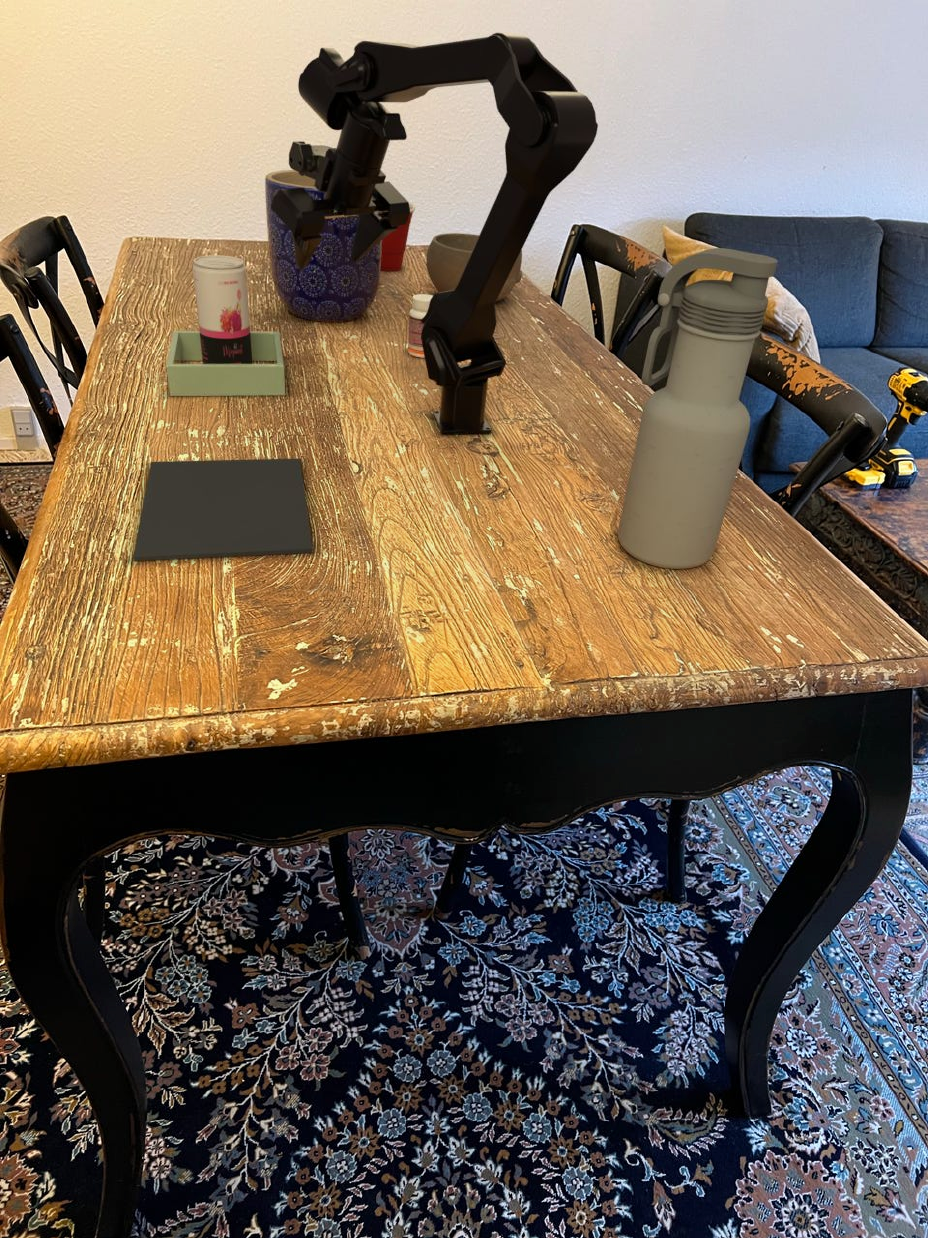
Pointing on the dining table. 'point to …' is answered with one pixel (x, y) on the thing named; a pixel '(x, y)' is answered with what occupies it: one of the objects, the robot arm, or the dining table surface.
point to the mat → (223, 510)
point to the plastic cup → (395, 246)
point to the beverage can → (222, 309)
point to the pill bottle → (417, 323)
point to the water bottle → (694, 410)
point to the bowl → (459, 262)
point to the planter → (320, 262)
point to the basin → (225, 368)
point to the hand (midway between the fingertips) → (327, 263)
